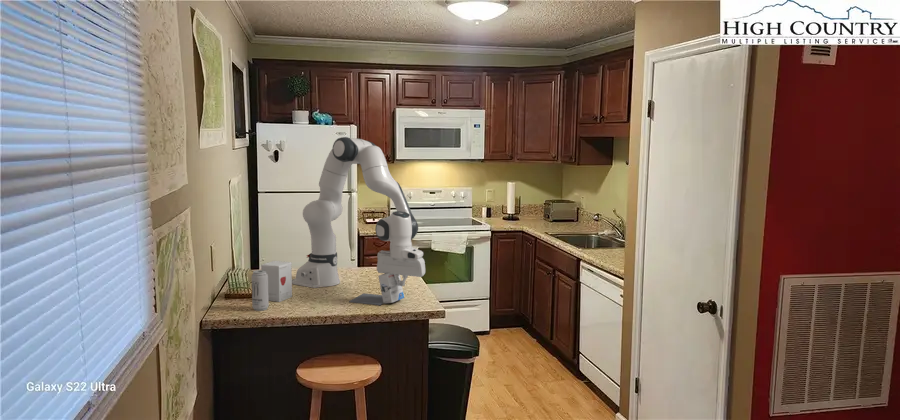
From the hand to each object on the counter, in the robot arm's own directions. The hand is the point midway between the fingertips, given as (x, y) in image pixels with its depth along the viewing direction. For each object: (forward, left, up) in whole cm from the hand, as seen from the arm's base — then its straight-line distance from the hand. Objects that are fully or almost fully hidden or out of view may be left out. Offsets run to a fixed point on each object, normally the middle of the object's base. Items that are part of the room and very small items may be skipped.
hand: (400, 285), depth 233 cm
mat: (-13, 0, -7) cm, 15 cm away
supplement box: (-51, -12, -8) cm, 53 cm away
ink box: (-3, 0, -7) cm, 7 cm away
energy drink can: (-48, -27, -8) cm, 55 cm away
